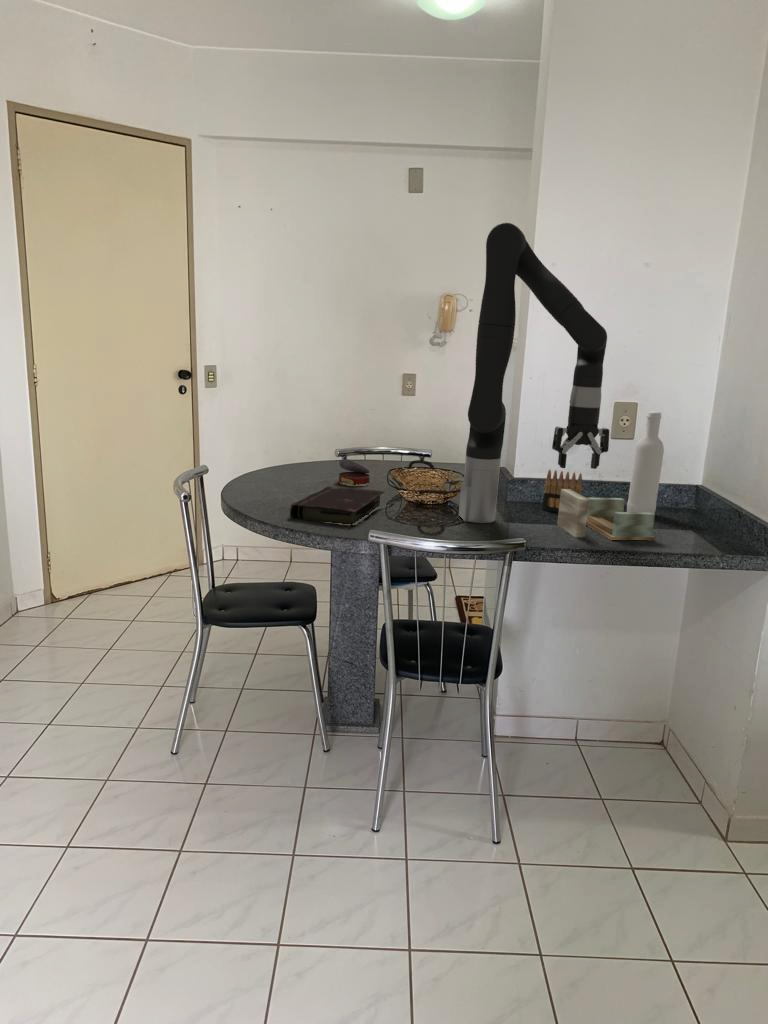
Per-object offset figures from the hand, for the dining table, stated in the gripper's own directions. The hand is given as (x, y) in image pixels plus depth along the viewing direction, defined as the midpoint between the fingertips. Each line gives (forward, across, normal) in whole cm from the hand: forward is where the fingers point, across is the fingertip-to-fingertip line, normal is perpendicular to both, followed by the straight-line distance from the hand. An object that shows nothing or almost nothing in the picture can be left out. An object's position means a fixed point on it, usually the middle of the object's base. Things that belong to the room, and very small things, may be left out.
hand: (578, 468), depth 194 cm
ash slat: (+17, 0, 0) cm, 17 cm away
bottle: (+17, +30, +19) cm, 39 cm away
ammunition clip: (+17, +6, +21) cm, 28 cm away
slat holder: (+17, +13, 0) cm, 21 cm away
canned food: (+16, -50, +55) cm, 76 cm away
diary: (+17, -59, +17) cm, 64 cm away
